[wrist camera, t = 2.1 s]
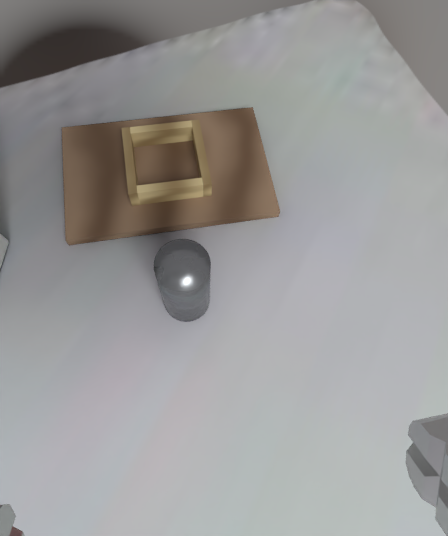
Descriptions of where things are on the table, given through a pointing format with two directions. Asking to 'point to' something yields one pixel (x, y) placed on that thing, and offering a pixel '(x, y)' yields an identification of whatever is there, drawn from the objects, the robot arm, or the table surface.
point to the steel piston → (184, 278)
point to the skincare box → (3, 248)
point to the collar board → (164, 175)
